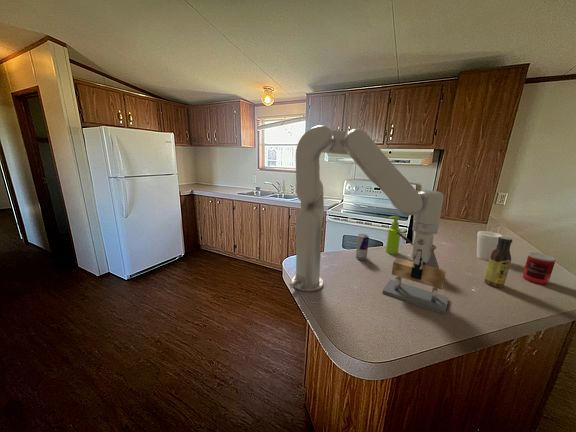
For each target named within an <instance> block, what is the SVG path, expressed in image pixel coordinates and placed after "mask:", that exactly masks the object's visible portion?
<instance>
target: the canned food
mask: <svg viewBox="0 0 576 432" xmlns="http://www.w3.org/2000/svg"><path fill="white" fill-rule="evenodd" d="M555 264H556V258H555V257H553V256H551V255H548V254H545V253H539V252H530V253H528V256H527V257H526V262H525V266H524V268H523V269H524V270H523V272H522V273H523V274H522V278H523V279H524V280H525V281H527V282H529V283H533V284H534V285H535V284H536V285H541V286H544V285H545V286H546V285H548V284H549V281H550V279H551V276H552V273H553V269H554V267H555Z"/></svg>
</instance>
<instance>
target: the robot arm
mask: <svg viewBox="0 0 576 432" xmlns="http://www.w3.org/2000/svg"><path fill="white" fill-rule="evenodd" d="M322 153H325V154H337V155H345V156H346V155H348V156H350V158H351V159H352V160H353V161H354V163H355V164H356V165H357V166H358V167H359V168H360V169H361V171H362V173H364V175H366V177H367V178H368V179H369V180H370V181H371V182H372V183H373V184H374V185H376V186H377V187H378V188H379V189H380V191H382V192H383V194H384V195H385V196H386V197H387V199H388V200H390V203H391V205H392V207H394V208H395V210H397V211H398V212H399V213H401V214H402V215H404V216H413V221H412V222H413V223H412V231H413V232H415V233H414V240H413V245H412V254H411V259H412V260H414V263H413V267H412V272H411V277H412V278H415V279H418V280H421V277H422V271H423V269H422V266H423V265H425V263H427V262H428V261H429V259H430V256H431V251H432V244H433V242H434V237H435V235H437V234H438V232H439V225H440V220H441V215H442V209H443V203H444V198H445V195H444V194H443V192H441V191H437V190H418V189H417V190H416V189H415V187H414V186H413V185H412V183H410V181H409V180H408V179H407V178H406V176H404V175H403V174H402V172H401V171H400V170H399V169H398V168H397V167H396V166H395V165H394V163H392V161H391V160H390V159H389V158H388V157H387V156H386V154H385V153H384V152H383V151H382V150H381V148H380V147H379V146H378V145H377V143H376V142H375V141H374V140H373V138H371V136H370V135H369V133H367V132H366V131H365V130H364V129H361V128H352V129H351V130H337V129H331V128H330V127H328V126H326V125H323V124H320V125H316V126H314V127H311V128H310V129H307V131H306V132H305V133H304V134H303V135H302V136H301V137H300V139H299V141H298V143H297V146H296V150H295V180H296V181H295V182H296V185H295V186H296V187H295V188H296V196H297V198H298V200H299V202H300V209H299V211H298V213H297V215H296V219H295V234H296V235H295V237H296V242H295V243H296V244H295V245H296V246H295V247H296V254H295V255H296V256H295V259H296V260H295V275H294V277H292V279H291V282H289V287H290V288H291V289H293V288H295V289H297V290H299V291H301V292H302V291H303V292H308V293H309V292H316V291H319V290H320V289H322V288H323V286H324V280H323V278H322V277H321V273H320V272H321V258H322V257H321V253H322V230H323V229H322V226H323V221H324V216H325V213H324V212H325V210H324V209H325V207H324V206H325V205H324V204H325V203H324V185H323V183H322V180H321V177H320V175H321V174H320V167H321V166H320V158H321V154H322ZM433 245H434V244H433ZM420 264H421V265H420Z"/></svg>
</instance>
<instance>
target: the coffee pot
mask: <svg viewBox="0 0 576 432" xmlns="http://www.w3.org/2000/svg"><path fill="white" fill-rule="evenodd" d="M396 233H397V234H399V235H400V238H402V240H404V241H406V242H407V243H409V244H410V245H411V246H413V244H414V242H412V241H411V240H410V239H408V238H407V237H406V236H404V235H403V234H402V233H399V232H396ZM396 233H395V234H396ZM397 234H396V235H397ZM436 249H437V246H436V244H432V251H431V256H430V259H429V261H428V262H427V263H425V265H427V266H431V267H435V268H439V269H440V266H439V263H438V261H437V257H436V254H435V250H436ZM410 261H411V262H414V260H413V259H412V260H410Z"/></svg>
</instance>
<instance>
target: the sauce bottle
mask: <svg viewBox="0 0 576 432" xmlns="http://www.w3.org/2000/svg"><path fill="white" fill-rule="evenodd" d="M512 243H513V238H511V237H508V236H507V237H506V236H503V237H499V238H498V245H497V248H496V249H494V250H493V251H492V253H491V256H490V259H489V260H488V264H487V268H486V270H485V275H484V283H486V284H487V285H488V286H491V287H495V288H503V287H505V284H506V280H507V277H508V273H509V270H510V266H511V261H512V255H511V250H510V249H511V245H512Z"/></svg>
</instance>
